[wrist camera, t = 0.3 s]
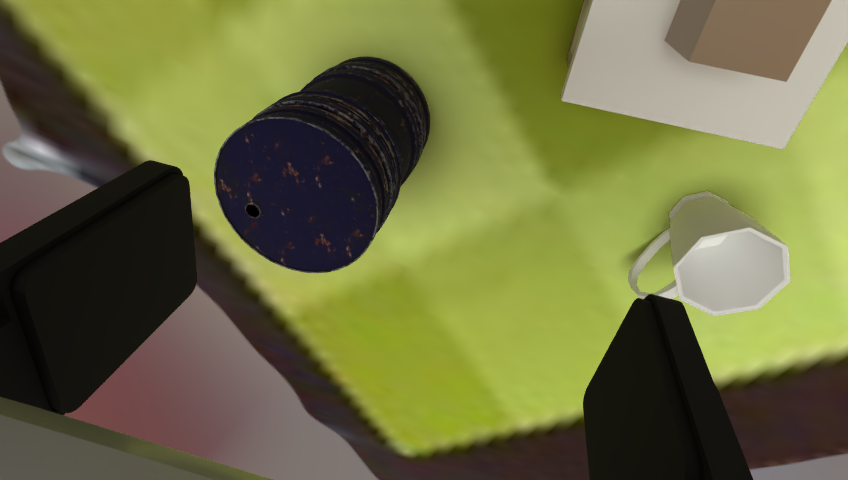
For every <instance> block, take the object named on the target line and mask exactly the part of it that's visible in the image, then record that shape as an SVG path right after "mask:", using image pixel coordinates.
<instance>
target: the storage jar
mask: <svg viewBox="0 0 848 480" xmlns="http://www.w3.org/2000/svg"><path fill="white" fill-rule="evenodd" d="M429 129H430V114H429V109H428V105H427V102H426V99H425V97H424V95H423V93H422V91H421V89H420V88H419V86H418V85H417V83H416V82H415V81H414V80H413V78H412V77H411V76H410V75H409V74H407V73H406V72H405V71H404V70H403V69H401V68H400V67H398V66H397V65H395V64H393V63H391V62H389V61H386V60H383V59H380V58H374V57H357V58H352V59H349V60H346V61H344V62H342V63H340V64H338V65H337V66H334V67H332V68H329V69H328V70H326V71H324V72H323V73H321V74H320V75H318V76H317V77H315V78H314V79H313V80H312V81H311V82H310V83H309V84H307V85H306V86H305V87H304V88H303V89H302V90H301V91H300V92H297V93H293V94H290V95H288V96H285V97H283V98H282V99H280V100H278V101H277V102H275V103H274V104H272V105H271V106H269V107H268V108H266V109H264V110H263V111H261V112H260V113H258V114H257V115H256V116H255V117H254V118H253V119H252V120H250V121H249V122H247V123H246V124H244V125H243V126H241V127H240V128H238V129H237V130H235V131H234V132H233V133H232V134H231V135H230V136H229V137H228V138H227V139H226V141H225V142H224V144H223V145H222V147H221V148H220V151H219V153H218V156H217V159H216V164H215V169H214V183H215V190H216V195H217V198H218V201H219V204H220V207H221V209H222V211H223V213H224V215H225V217H226V219H227V221H228V222H229V224H230V225H231V227H232V228H233V230H234V231H235V232H236V233H237V234H238V236H239V237H240V238H241V239H242V240H243V241H244V242H245V243H246V244H247V245H248V246H249V247H250V248H252V249H253V250H254V251H256V252H257V253H258V254H259V255H261V256H263V257H264V258H266V259H268V260H269V261H271V262H273V263H275V264H278V265H280V266H282V267H285V268H288V269H291V270H295V271H300V272H306V273H324V272H331V271H335V270H339V269H341V268H344V267H346V266H348V265H350V264H351V263H353V262H354V261H356V260H357V259H358V258H359V257H360V256H361V255H363V254H364V253H365V251H366V250H367V248H368V247H369V245H370V244H371V242H372V240H373V239H374V237H375V235H376V233H377V232H378V231H379V230H380V228H381V227H382V225H383V224H384V222H385V221H386V219H387V217H388V215H389V213H390V211H391V209H392V208H393V207H394V205H395V202H396V200H397V198H398V195H399V191H400V187H401V185H402V184H403V183H404V182H405V181H406V179H407V178H408V177H409V175H410V174H411V172H412V171H413V169H414V168H415V166H416V164H417V162H418V160H419V158H420V156H421V154H422V150H423V149H424V146H425V144H426V142H427V139H428V135H429Z"/></svg>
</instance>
